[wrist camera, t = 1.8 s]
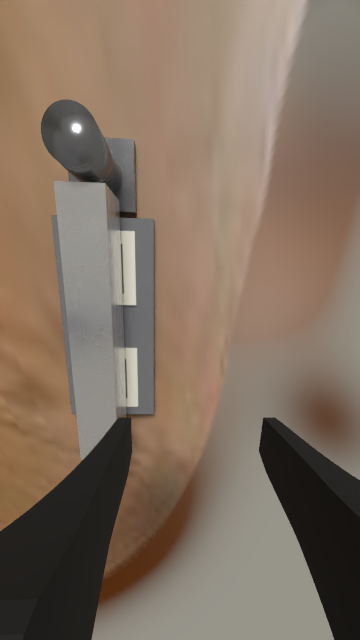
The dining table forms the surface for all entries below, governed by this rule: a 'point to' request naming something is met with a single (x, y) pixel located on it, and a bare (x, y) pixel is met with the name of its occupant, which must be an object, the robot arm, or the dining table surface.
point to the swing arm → (93, 304)
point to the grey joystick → (90, 151)
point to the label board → (128, 312)
